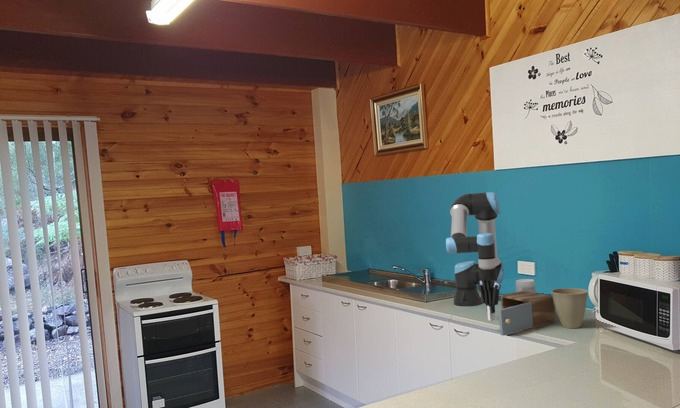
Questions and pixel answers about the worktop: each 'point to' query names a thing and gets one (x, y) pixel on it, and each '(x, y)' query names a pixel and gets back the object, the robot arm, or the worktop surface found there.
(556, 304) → the plant pot
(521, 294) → the cabinet
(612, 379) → the worktop surface
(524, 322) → the cabinet door
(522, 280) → the supplement tub
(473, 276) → the robot arm
